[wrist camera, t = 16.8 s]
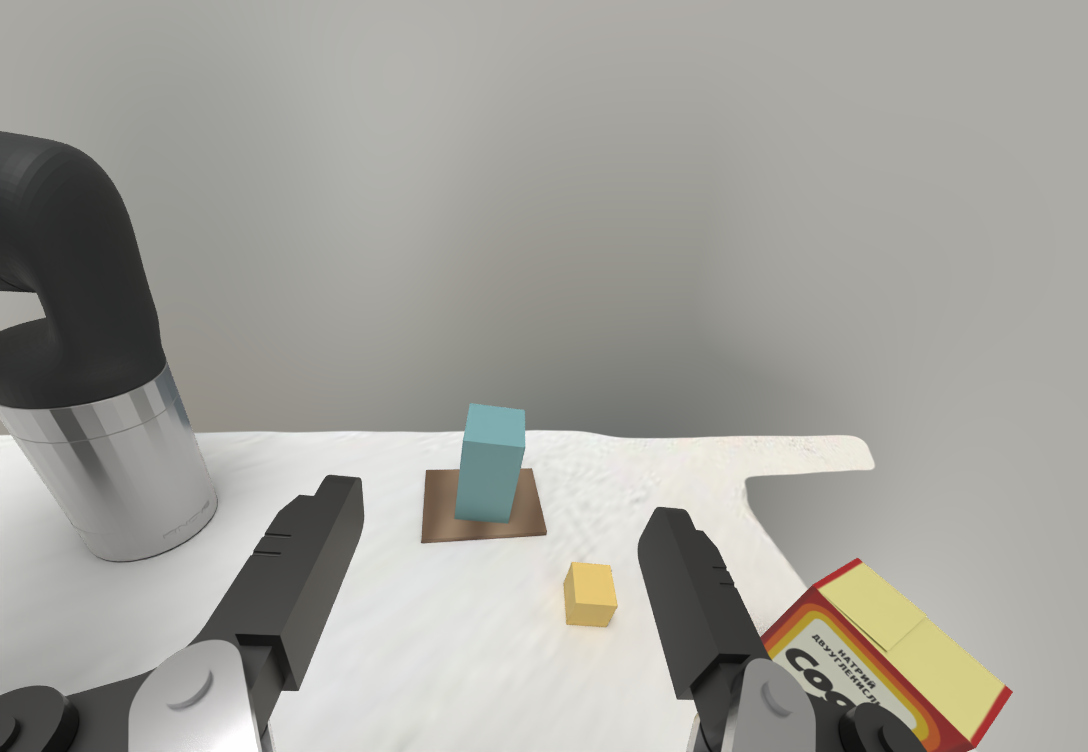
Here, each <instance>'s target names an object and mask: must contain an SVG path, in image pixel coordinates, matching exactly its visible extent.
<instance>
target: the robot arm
mask: <svg viewBox="0 0 1088 752" xmlns="http://www.w3.org/2000/svg"><path fill="white" fill-rule="evenodd" d="M0 291H13V292H14V291H15V292H32V293H37V295H38V297H39V299H40V302H41V304H42V306H43V309H44V312H45V315H46V318H42V319H38V320H34V321H30V322H26V323H22V324H19V325H16V326H13V327H10V328H7V329H5V330H2V331H0V420H1V421H2V423H3V424H4V425H5V427H6V428H7V430H8V431H9V432H10V434H11V435H12V437H13V438H14V440H15V441H16V442H17V444H18V445H19V447H20V448H21V450H22V451H23V453H24V454H25V456H26V457H27V459H28V460H29V461H30V463H31V464H32V466H33V467H34V469H35V470H36V472H37V473H38V475H39V476H40V477H41V479H42V480H43V482H44V483H45V485H46V486H47V488H48V489H49V491H50V492H51V494H52V495H53V496H54V498H55V499H56V501H57V502H58V504H59V505H60V507H61V508H62V510H63V511H64V512H65V514H66V515H67V517H68V518H69V520H70V521H71V523H72V525H73V526H74V528H75V529H76V531H77V532H78V533H79V535H80V536H81V538H82V539H83V541H84V542H85V544H86V545H87V546H88V548H89V549H90V551H91V552H92V553H94V554H95V555H96V556H97V557H100V558H102V559H105V560H111V561H132V560H138V559H143V558H147V557H150V556H154V555H157V554H160V553H162V552H165V551H167V550H169V549H172V548H174V547H176V546H178V545H179V544H181V543H183V542H185V541H186V540H188V539H189V538H191V537H192V536H193V535H195V534H196V533H198V532H199V531H200V530H201V529H202V528H203V527H204V526H205V525H206V524H207V523H208V521H209V520H210V519H211V518H212V516H213V514H214V512H215V510H216V507H217V497H216V493H215V491H214V488H213V485H212V482H211V480H210V477H209V474H208V471H207V468H206V465H205V463H204V460H203V457H202V454H201V452H200V449H199V446H198V444H197V441H196V438H195V435H194V433H193V430H192V427H191V425H190V422H189V419H188V416H187V414H186V411H185V408H184V405H183V403H182V400H181V398H180V395H179V392H178V389H177V387H176V385H175V382H174V379H173V376H172V373H171V371H170V368H169V365H168V362H167V360H166V357H165V354H164V351H163V348H162V345H161V339H160V330H159V321H158V316H157V312H156V308H155V305H154V302H153V299H152V295H151V293H150V289H149V285H148V282H147V279H146V275H145V272H144V268H143V264H142V260H141V257H140V253H139V249H138V245H137V241H136V238H135V234H134V231H133V227H132V224H131V221H130V218H129V214H128V212H127V210H126V207H125V205H124V202H123V200H122V198H121V196H120V194H119V192H118V190H117V189H116V187H115V185H114V183H113V182H112V180H111V179H110V178H109V177H108V175H107V174H106V172H105V171H104V170H103V169H102V168H101V167H100V166H99V165H98V164H97V163H96V162H95V161H94V160H93V159H92V158H91V157H89V156H88V155H87V154H85V153H84V152H82V151H80V150H79V149H77V148H74V147H72V146H70V145H68V144H64V143H61V142H57V141H53V140H49V139H43V138H38V137H33V136H27V135H21V134H14V133H8V132H2V131H0ZM363 523H364V506H363V492H362V481H361V478H359V477H348V476H337V475H328V476H326V477H325V479H324V480H323V481H322V483H321V485H320V487H319V488H318V490H317V492H316V494H315V495H314V496H307V495H299V496H297V497H296V498H295V499H294V500H293V501H291V502H290V503H289V504H288V505H286V506H285V507H284V508H283V509H282V510H280V511H279V512H278V514H277V515H276V517H275V518H274V520H273V521H272V523H271V524H270V526H269V528H268V529H267V531H266V532H265V536H264V537H262V538H261V540H260V541H259V543H258V545H257V546H256V548H255V549H254V552H253V555H252V556H251V555H250V557H249V558H248V560H247V562H246V563H245V565H244V566H243V568H242V569H241V571H240V572H239V574H238V575H237V577H236V578H235V580H234V582H233V583H232V585H231V586H230V588H229V589H228V591H227V592H226V594H225V595H224V597H223V599H222V600H221V602H220V603H219V605H218V606H217V608H216V609H215V611H214V612H213V614H212V616H211V617H210V619H209V620H208V622H207V623H206V625H205V626H204V628H203V629H202V630H201V632H200V633H199V634H198V635H197V636H196V638H195V639H194V640H193V641H192V642H191V643H190V644H189V645H188V646H187V647H186V648H184V649H182V650H180V651H179V652H177V653H175V654H174V655H172V656H171V657H169V658H168V659H167V660H165V661H164V662H163V663H162V664H161V665H159V666H158V667H156V668H155V669H153V670H150V671H148V672H146V673H144V674H141V675H138V676H135V677H132V678H129V679H125V680H122V681H118V682H115V683H111V684H108V685H104V686H101V687H97V688H94V689H90V690H87V691H83V692H80V693H76V694H72V695H69V696H65V697H64V696H63V695H62V694H61V693H60V692H59V691H57V690H56V689H54V688H52V687H48V686H29V687H24V688H20V689H16V690H13V691H11V692H8V693H5V694H3V695H0V752H276V750H275V745H274V740H273V735H272V730H271V725H270V720H269V718H270V716H271V714H272V711H273V709H274V707H275V705H276V702H277V700H278V698H279V695H280V693H281V691H299V689H300V686H301V684H302V681H303V679H304V676H305V674H306V671H307V669H308V666H309V664H310V661H311V659H312V656H313V654H314V651H315V649H316V646H317V644H318V641H319V639H320V636H321V634H322V631H323V629H324V626H325V624H326V621H327V619H328V617H329V614H330V612H331V609H332V607H333V604H334V602H335V599H336V597H337V594H338V592H339V589H340V587H341V584H342V582H343V579H344V577H345V574H346V572H347V569H348V567H349V564H350V562H351V559H352V557H353V554H354V552H355V549H356V547H357V544H358V542H359V539H360V536H361V533H362V529H363ZM638 560H639V564H640V568H641V571H642V575H643V578H644V582H645V586H646V589H647V593H648V597H649V600H650V604H651V607H652V611H653V615H654V618H655V622H656V625H657V629H658V633H659V636H660V640H661V643H662V647H663V651H664V654H665V658H666V662H667V665H668V669H669V672H670V676H671V680H672V683H673V687H674V690H675V694H676V698H677V699H679V700H694V702H695V705H696V708H697V712H698V713H697V714H696V716H695V718H694V721H693V725H692V729H691V733H690V737H689V742H688V746H687V750H686V752H927V751H926V749H925V748H924V746H923V745H922V743H921V742H920V740H919V739H918V738H917V737H916V735H915V734H914V733H913V732H912V731H911V729H910V728H909V727H908V726H907V725H906V724H905V723H904V722H903V721H902V720H901V719H899V718H898V717H897V716H896V715H894V714H893V713H892V712H890V711H889V710H887V709H886V708H884V707H882V706H880V705H877V704H875V703H870V702H864V703H861V704H859V705H858V706H856V707H854V708H853V709H851V710H848V709H846V708H843V707H841V706H838V705H836V704H834V703H831V702H829V701H827V700H824V699H822V698H819V697H817V696H815V695H812V694H810V693H808V692H806V691H804V689H803V688H802V686H801V685H800V684H799V682H798V681H797V680H796V679H795V678H794V677H793V676H792V675H791V674H790V673H789V672H788V671H787V670H786V669H784V668H783V667H782V666H780V665H779V664H777V663H775V662H773V661H772V659H771V658H770V656H769V654H768V653H767V651H766V649H765V647H764V645H763V643H762V640H761V638H760V636H759V634H758V632H757V630H756V628H755V626H754V624H753V622H752V620H751V617H750V615H749V613H748V611H747V609H746V607H745V605H744V603H743V601H742V599H741V596H740V594H739V592H738V590H737V588H735V587H734V582H733V580H732V578H731V576H730V573H729V571H727V570H726V568H727V567H726V565H725V563H724V561H723V559H722V557H721V555H720V552H719V550H718V548H717V547H716V546H715V545H714V543H713V542H712V541H711V540H710V539H709V538H708V536H707V535H706V534H705V533H704V532H703V531H700V530H696V529H695V527H694V525H693V522H692V520H691V518H690V516H689V514H688V512H687V511H686V510H684V509H677V508H666V507H657V508H656V509H655V510H654V512H653V514H652V516H651V518H650V520H649V522H648V524H647V525H646V527H645V529H644V531H643V533H642V535H641V537H640V539H639V543H638Z"/></svg>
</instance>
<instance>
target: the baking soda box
mask: <svg viewBox="0 0 1088 752" xmlns="http://www.w3.org/2000/svg"><path fill="white" fill-rule="evenodd" d="M760 638H761V640H762V643H763V645H764V647H765V649H766V651H767V653H768V654H769V656H770V658H771V659H772V661H773V662H775V663H777V664H779V665H780V666H782V667H783V668H784V669H786V670H787V671H788V672H789V673H790V674H791V675H792V676H793V677H794V678H795V679H796V680H797V681H798V682H799V684H800V685H801V686H802V688H803V689H804V691H806V692H808V693H810V694H812V695H815V696H817V697H819V698H822V699H824V700H827V701H829V702H831V703H834V704H836V705H838V706H841V707H843V708H846V709H848V710H851V709H853V708H854V707H856V706H858V705H859V704H861V703H864V702H870V703H875V704H877V705H880V706H882V707H884V708H886V709H887V710H889V711H890V712H892V713H893V714H894V715H896V716H897V717H898V718H899V719H901V720H902V721H903V722H904V723H905V724H906V725H907V726H908V727H909V728H910V729H911V731H912V732H913V733H914V734H915V735H916V737H917V738H918V739H919V740H920V742H921V743H922V745H923V746H924V748H925V749H926V751H927V752H967V751H970V750H972V749H974V748H976V747H977V745H978V744H979V742H980V741H981V739H982V738H983V736H984V735H985V733H986V732H987V730H988V729H989V727H990V726H991V724H992V723H993V721H994V720H995V718H996V717H997V715H998V714H999V712H1000V710H1001V709H1002V708H1003V706H1004V704H1005V703H1006V701H1007V700H1008V699H1009V697H1010V696H1011V694H1012V693H1013V692H1012V691H1011V690H1010V689H1009V688H1008V687H1007V686H1005V685H1004V684H1003V683H1002V682H1001V681H1000V680H999V679H997V678H996V677H995V676H994V675H993V674H992V673H990V672H989V671H988V670H987V669H986V668H985V667H983V666H982V665H981V664H980V663H979V662H978V661H977V660H975V659H974V658H973V657H972V656H971V655H970V654H968V653H967V652H966V651H965V650H964V649H963V648H961V647H960V646H959V645H958V644H957V643H956V642H955V641H953V640H952V639H951V638H950V637H949V636H947V635H946V634H945V633H944V632H943V631H942V630H941V629H939V628H938V627H937V626H936V625H935V624H934V623H933V622H931V621H930V620H929V619H928V618H927V617H926V614H925V613H924V612H922V611H921V610H920V609H919V608H918V607H916V606H915V605H914V604H913V603H912V602H910V601H909V600H908V599H906V597H904V596H903V595H902V594H900V593H899V592H898V591H897V590H896V589H895V588H893V587H892V586H891V585H890V584H889V583H887V582H886V581H885V580H884V579H883V578H881V577H880V576H879V575H878V574H877V573H875V572H874V571H873V570H872V569H870V568H869V567H868V566H867V565H866V564H864V563H863V562H862V561H861V560H860V559H859V558H856V559H854V560H853V561H852V562H850V563H848V564H846V565H845V566H843V567H841V568H840V569H838V570H837V571H835V572H833V573H831V574H830V575H828V576H826V577H825V578H823V579H821V580H820V581H818V582H817V583H815V584H813V585H812V586H811V587H810V588H809V589H808V590H807V591H806V592H805V593H804V594H803V595H802V596H801V597H800V598H799V599H798V600H797V601H796V602H795V603H794V604H793V605H792V606H791V607H790V608H789V609H788V610H787V611H786V612H785V613H784V614H783V615H782V616H781V617H780V618H779V619H778V620H777V621H776V622H775V623H774V624H773V625H772V626H771V627H770V628H769V629H768V630H767V631H766V632H765V633H764V634H763V635H762V636H761V637H760Z"/></svg>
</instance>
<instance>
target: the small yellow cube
mask: <svg viewBox="0 0 1088 752" xmlns="http://www.w3.org/2000/svg"><path fill="white" fill-rule="evenodd" d="M564 596H565V610H566V624H567V625H581V626H596V627H607V625H608V623H609V621H610V619H611V617H612V616H613V614H614V612H615V610H616V608H617V606H618V605H617V600H616V594H615V589H614V583H613V578H612V573H611V567H610V565H600V564H589V563H578V562H572V563H571V566H570V568H569V571H568V574H567V576H566V579H565V581H564Z"/></svg>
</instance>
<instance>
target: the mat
mask: <svg viewBox="0 0 1088 752" xmlns="http://www.w3.org/2000/svg"><path fill="white" fill-rule="evenodd" d="M459 472H460V470H426V479H425V494H424V509H423V525H422V540H421V543H431V542H447V541H462V540H478V539H493V538H509V537H524V536H539V535H546V533H547V530H546V526H545V522H544V517H543V513H542V509H541V505H540V501H539V496H538V492H537V488H536V484H535V480H534V476H533V471H532V468H530V469H520V473H519V477H518V482H517V486H516V491H515V495H514V499H513V504H512V508H511V513H510V517H509V522H508V524H506V523H494V522H482V521H470V520H458V519H454V517H455V508H456V499H457V490H458V481H459Z"/></svg>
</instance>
